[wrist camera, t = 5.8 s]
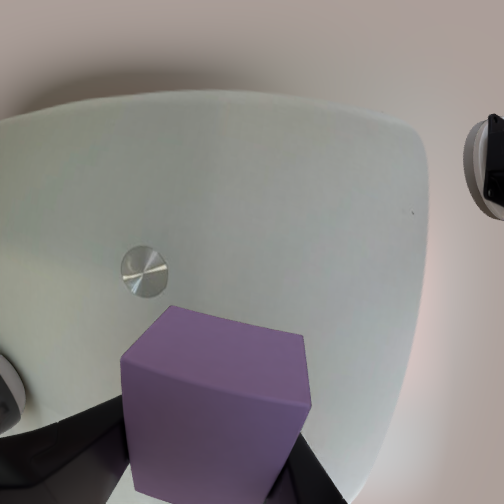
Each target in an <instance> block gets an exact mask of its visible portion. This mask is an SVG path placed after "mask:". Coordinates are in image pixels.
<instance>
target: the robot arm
mask: <svg viewBox="0 0 504 504" xmlns="http://www.w3.org/2000/svg"><path fill="white" fill-rule="evenodd" d="M494 120H495V122H494ZM489 191H490V195H489V194H488V192H489ZM483 196H484V198H485V199H486V200H488V201H490V202H492V203H494V204H496V205H499V206H501V207H503V208H504V119H503V118H501V117H500V116H498V115H496V114H491V115H489V116H488V142H487V158H486V169H485V179H484V187H483ZM129 463H130V459H129V453H128V446H127V439H126V431H125V422H124V412H123V400H122V395H119V396H117V397H115V398H113V399H111V400H108V401H106V402H104V403H102V404H99V405H97V406H95V407H92V408H90V409H88V410H85V411H83V412H81V413H78V414H76V415H73V416H71V417H68V418H66V419H63V420H61V421H59V422H58V423H57V422H56V423H53V424H50V425H48V426H45V427H42V428H39V429H36V430H33V431H29V432H25V433H21V434H17V435H12V436H7V437H2V438H0V504H106V502H107V500H108V499H109V497H110V495H111V493H112V492H113V490H114V488H115V487H116V485H117V483H118V482H119V480H120V478H121V476H122V475H123V473H124V471H125V470H126V468H127V466H128V465H129ZM342 498H343V496H342V495H341V494H340V492H339V491H338V489H337V488H336V486H335V485H334V483H333V482H332V480H331V479H330V477H329V476H328V474H327V473H326V471H325V470H324V468H323V467H322V465H321V464H320V462H319V461H318V459H317V458H316V456H315V455H314V453H313V451H312V450H311V448H310V447H309V445H308V444H307V442H306V441H305V439H304V437H303V436H302V434H301V433H299V435H298V438H297V440H296V442H295V444H294V446H293V448H292V450H291V452H290V454H289V456H288V458H287V460H286V462H285V464H284V466H283V468H282V470H281V472H280V474H279V475H278V477H277V479H276V481H275V483H274V485H273V487H272V488H271V490H270V492H269V494H268V495H267V502H266V504H348V503H347V502H346V501H345V499H342Z"/></svg>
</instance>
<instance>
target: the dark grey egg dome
mask: <svg viewBox="0 0 504 504" xmlns="http://www.w3.org/2000/svg"><path fill="white" fill-rule="evenodd" d="M25 402H26V396H25V390H24V386H23V384H22V381H21V379H20V377H19V375H18V373H17V372H16V370H15V369H14V367H13V366H12V365H11V364H10V362H9V361H8V360H7V359H6V358H4V357H3V356H2V355H1V354H0V435H1V434H2V433H4V432H6V431H7V430H9V429H11V428H12V427H13V426H15V425H16V424H17V423H18V422H19V421H20V419H21V415H22V413H23V410H24V408H25Z"/></svg>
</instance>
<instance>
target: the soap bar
mask: <svg viewBox="0 0 504 504" xmlns="http://www.w3.org/2000/svg"><path fill="white" fill-rule="evenodd" d="M120 366H121V386H122V400H123V412H124V422H125V431H126V439H127V446H128V453H129V459H130V466H131V471H132V477H133V482H134V487H135V490H136V491H138V492H140V493H143V494H145V495H148V496H151V497H154V498H157V499H160V500H163V501H166V502H169V503H172V504H263V502H264V501H265V499H266V497H267V495H268V494H269V492H270V490H271V488H272V487H273V485H274V483H275V481H276V479H277V477H278V475H279V474H280V472H281V470H282V468H283V466H284V464H285V462H286V460H287V458H288V456H289V454H290V452H291V450H292V448H293V446H294V444H295V442H296V440H297V438H298V435H299V433H300V431H301V429H302V427H303V425H304V422H305V420H306V418H307V416H308V413H309V411H310V409H311V406H312V405H311V396H310V387H309V379H308V370H307V362H306V354H305V346H304V339H303V336H302V335H299V334H293V333H288V332H283V331H278V330H273V329H268V328H264V327H259V326H254V325H250V324H245V323H241V322H236V321H232V320H228V319H224V318H219V317H215V316H211V315H207V314H203V313H199V312H195V311H191V310H188V309H184V308H180V307H176V306H169V307H168V309H167V310H166V311H165V312H164V313H163V314H162V315H161V316H160V317H159V318H158V319H157V320H156V321H155V322H154V323H153V324H152V325H151V326H150V327H149V328H148V329H147V330H146V331H145V332H144V333H143V334H142V335H141V336H140V337H139V338H138V340H137V341H136V342H135V343H134V344H133V345H132V346H131V347H130V348H129V349H128V350H127V351H126V352H125V353H124V354H123V355H122V356H121V359H120Z"/></svg>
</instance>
